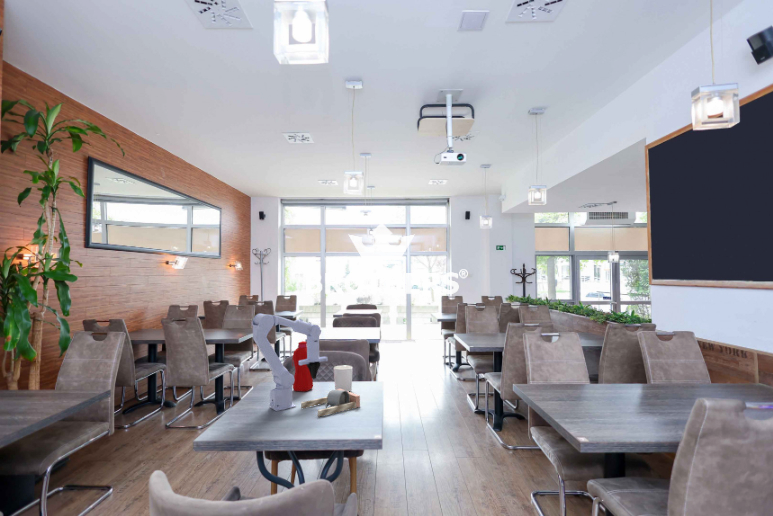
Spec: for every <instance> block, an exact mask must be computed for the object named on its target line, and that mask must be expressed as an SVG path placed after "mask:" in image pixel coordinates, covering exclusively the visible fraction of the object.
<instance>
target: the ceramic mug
mask: <svg viewBox="0 0 773 516" xmlns="http://www.w3.org/2000/svg"><path fill="white" fill-rule="evenodd" d="M326 397H327V403H325V404H324V405H325V406H324V407H325V409H326V408H329V406H330V407H334V406H338V405H342V404H347V403H349V401H350V395H349V393H348V392H347V391H345V390H335V389H332V390H331V391H329V392H328V394H327V396H326Z"/></svg>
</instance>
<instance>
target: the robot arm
mask: <svg viewBox="0 0 773 516" xmlns="http://www.w3.org/2000/svg"><path fill="white" fill-rule="evenodd" d="M251 325H252V339H253V341H254V342H255V345H256V346H257V347H258V350H259V351H260V353H261V354H262V356H263V357H264V359H265V361H266V362H267V364H268V366H269V368H270V369H271V374H272V376H273V381H274V383H275V388H272V389H270V391H269V406H268V407H269V408H270V409H272V410H274V411H276V412H279V411H283V410H286V409H292V408H296V405H295V404H294V403H293V384H294V380H295V379H294V374H292V373H290V371H288V369H287V368H286V367H285V366H284V365H283V363H282V361H281V360H280V358H279V356H278V354H277V353H276V351H275V350H274V348H273V346H272V344H271V342H270V341H269V340H268V339H269V338H268V337H267V336H268V334H269V333H270V331H271V330H272V328H273V327H276V326H277V325H280V326H284V327H288V328H291V329H292V331H293V332H295V333H297V334H302V335H306V342H307V359H304V360H300V361H299V365H304V364H306V365H307V367H308V369H309V371H310V374H311V378H312V379H313V380H315V379H317V375H318V371H319V369H320V366H321V363H322V362H328V361H329V359H328V356H320V335H321V333H322V330H321V327H320V326H319V325H318V324H312V322H311V321H308V322H307V321H304V319H302V318H299V319H296V320H291V319H288V318H286V317H284V316H283V317H282V316H279V315H275V314H274V315H273V314H269V313H267V314H264V313H261V312H260V313H257V314H256V315H254V317H253V320H252V321H251Z"/></svg>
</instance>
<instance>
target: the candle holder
mask: <svg viewBox="0 0 773 516" xmlns="http://www.w3.org/2000/svg"><path fill="white" fill-rule="evenodd" d="M353 369H354V368H353V366H352V365H337V366H336V365H335V366H334V367H333V377H334V390H337V389H343V390H345V391H348V392H349V391H350V392H351V391H352V390H353V389H352V387H353Z"/></svg>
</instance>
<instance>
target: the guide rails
mask: <svg viewBox="0 0 773 516" xmlns="http://www.w3.org/2000/svg"><path fill="white" fill-rule="evenodd" d="M323 403H325V404H327V396H325V397H324V396H323V397H319V398H315V399H311V400H306V401H305V400H304V401H302V402H300V408H301V409H302V408H303V409H306V407H308V408H311V407H310V406H312V407H315V406H314V405H316V406H319V405H318V404H321V405H324V404H323ZM352 408H354V409H357V408H356V402H351V403H347V404H342V405H338V406H334V407H332V406H330V407H327V408H326V407H325V408H323V409H318V410H317V417H318V416H319V418H321V417H320V416H322V417H325V416H324V415H326V416H328V414H330V415H333V413H334V414H337V413H336V412H338V413H341V412H340V411H342V412H345V411H344V410H346V411H349V410H348V409H350V410H353V409H352Z"/></svg>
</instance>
